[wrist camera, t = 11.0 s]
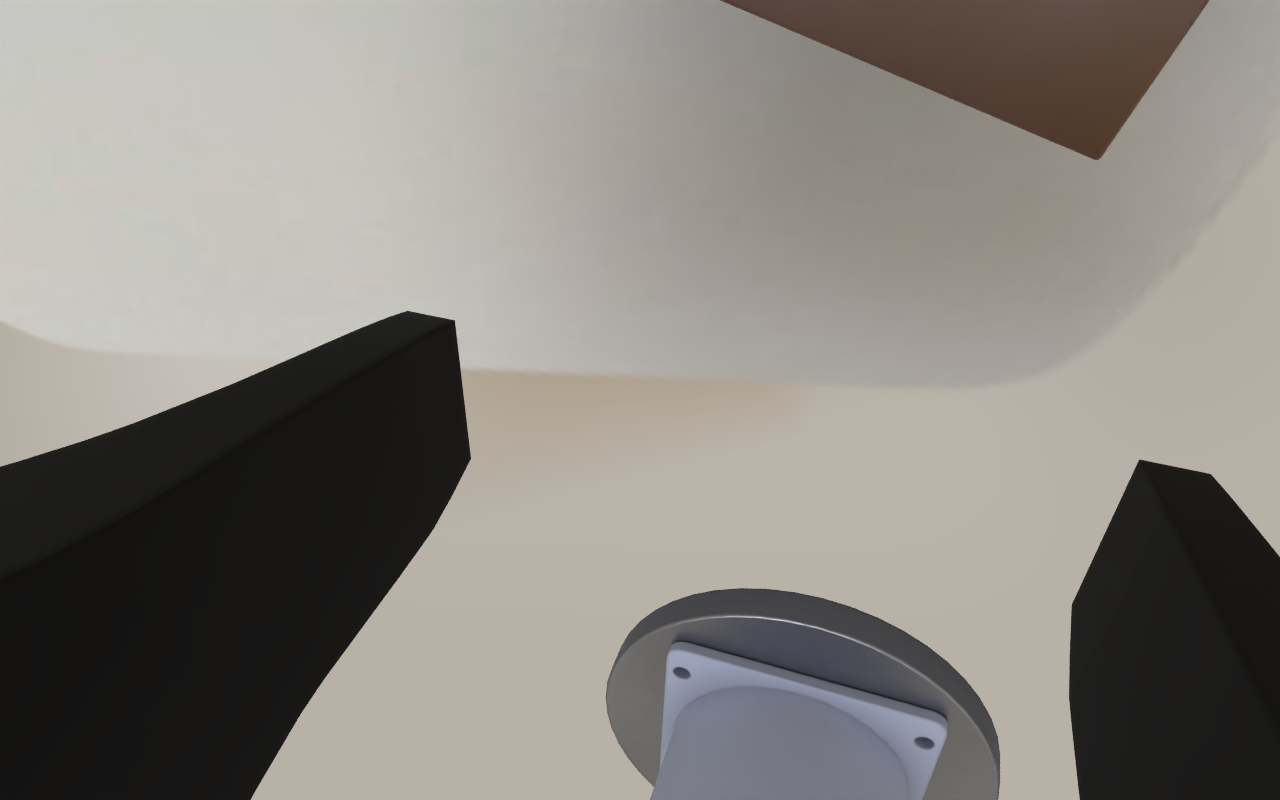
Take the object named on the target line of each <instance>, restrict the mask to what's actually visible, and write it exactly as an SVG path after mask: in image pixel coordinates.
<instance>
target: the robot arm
mask: <svg viewBox="0 0 1280 800" xmlns="http://www.w3.org/2000/svg"><path fill="white" fill-rule="evenodd" d="M470 459H471V456H470V447H469V438H468V431H467V421H466V413H465V405H464V396H463V388H462V379H461V370H460V361H459V353H458V344H457V336H456V327H455V320H450V319H445V318H440V317H435V316H430V315H425V314H420V313H415V312H410V311H406V312H403V313H400V314H397V315H394V316H391V317H388V318H385V319H383V320H380V321H378V322H375V323H373V324H370V325H368V326H365V327H363V328H360V329H358V330H356V331H353V332H351V333H349V334H346V335H344V336H342V337H339V338H337V339H335V340H332V341H330V342H328V343H325V344H323V345H321V346H319V347H316V348H314V349H312V350H310V351H307V352H305V353H303V354H300V355H298V356H296V357H294V358H291V359H289V360H287V361H284V362H282V363H280V364H277V365H275V366H273V367H271V368H268V369H266V370H264V371H262V372H259V373H257V374H255V375H252V376H250V377H248V378H245V379H243V380H241V381H238V382H236V383H234V384H231V385H229V386H226V387H224V388H221V389H219V390H217V391H214V392H211V393H209V394H206V395H204V396H201V397H199V398H196V399H194V400H191V401H189V402H186V403H184V404H181V405H179V406H176V407H174V408H171V409H169V410H166V411H164V412H161V413H159V414H156V415H153V416H151V417H148V418H146V419H143V420H141V421H138V422H136V423H133V424H130V425H127V426H125V427H122V428H119V429H116V430H114V431H111V432H108V433H105V434H102V435H99V436H96V437H93V438H91V439H88V440H85V441H82V442H79V443H76V444H73V445H69V446H66V447H63V448H60V449H57V450H54V451H50V452H47V453H44V454H41V455H38V456H34V457H32V458H28V459H25V460H22V461H19V462H15V463H12V464H8V465H5V466H1V467H0V800H251V798H252V796H253V794H254V792H255V791H256V789H257V787H258V785H259V784H260V782H261V780H262V778H263V777H264V775H265V773H266V772H267V770H268V768H269V767H270V765H271V763H272V762H273V760H274V758H275V757H276V755H277V753H278V751H279V750H280V748H281V746H282V745H283V743H284V741H285V739H286V738H287V736H288V734H289V732H290V731H291V729H292V728H293V726H294V724H295V723H296V721H297V719H298V717H299V716H300V714H301V713H302V711H303V709H304V708H305V707H306V705H307V704H308V702H309V701H310V699H311V698H312V696H313V695H314V693H315V692H316V690H317V689H318V687H319V686H320V684H321V683H322V681H323V680H324V679H325V677H326V676H327V674H328V673H329V671H330V670H331V669H332V668H333V666H334V665H335V664H336V662H337V661H338V660H339V658H340V657H341V655H342V654H343V653H344V651H345V650H346V649H347V647H348V646H349V645H350V643H351V642H352V640H353V639H354V638H355V636H356V635H357V634H358V632H359V631H360V629H361V628H362V627H363V625H364V624H365V623H366V621H367V620H368V619H369V617H370V616H371V615H372V613H373V612H374V610H375V609H376V608H377V606H378V605H379V604H380V602H381V601H382V600H383V598H384V597H385V596H386V594H387V593H388V592H389V590H390V589H391V587H392V586H393V585H394V583H395V582H396V581H397V579H398V578H399V577H400V575H401V574H402V572H403V571H404V570H405V568H406V567H407V565H408V564H409V563H410V561H411V560H412V558H413V557H414V556H415V554H416V553H417V552H418V550H419V549H420V547H421V546H422V545H423V543H424V542H425V540H426V539H427V537H428V536H429V535H430V533H431V532H432V530H433V529H434V527H435V525H436V523H437V522H438V520H439V518H440V516H441V514H442V513H443V511H444V509H445V507H446V505H447V504H448V502H449V500H450V498H451V496H452V495H453V493H454V491H455V489H456V487H457V485H458V483H459V481H460V479H461V477H462V475H463V473H464V471H465V469H466V467H467V465H468V463H469V461H470ZM1069 701H1070V711H1071V722H1072V731H1073V741H1074V750H1075V759H1076V768H1077V777H1078V787H1079V795H1080V800H1280V557H1279V556H1278V554H1277V553H1276V552H1275V551H1274V549H1273V548H1272V547H1271V546H1270V544H1269V543H1268V542H1267V541H1266V539H1265V538H1264V537H1263V536H1262V535H1261V533H1260V532H1259V531H1258V530H1257V529H1256V527H1255V526H1254V525H1253V524H1252V522H1251V521H1250V520H1249V519H1248V517H1247V516H1246V515H1245V514H1244V513H1243V511H1242V510H1241V509H1240V508H1239V506H1238V505H1237V504H1236V503H1235V502H1234V500H1233V499H1232V498H1231V497H1230V496H1229V495H1228V493H1227V492H1226V491H1225V490H1224V489H1223V488H1222V486H1221V485H1220V484H1219V483H1218V482H1217V481H1216V480H1215V478H1214V477H1213V476H1212V475H1211V474H1207V473H1203V472H1198V471H1193V470H1188V469H1183V468H1178V467H1173V466H1168V465H1163V464H1158V463H1153V462H1149V461H1144V460H1139V461H1138V464H1137V466H1136V468H1135V470H1134V473H1133V475H1132V477H1131V479H1130V481H1129V483H1128V485H1127V487H1126V490H1125V492H1124V494H1123V496H1122V498H1121V500H1120V503H1119V504H1118V507H1117V509H1116V511H1115V513H1114V515H1113V517H1112V520H1111V522H1110V524H1109V526H1108V528H1107V530H1106V532H1105V535H1104V537H1103V539H1102V541H1101V543H1100V545H1099V547H1098V550H1097V552H1096V554H1095V556H1094V558H1093V560H1092V563H1091V565H1090V567H1089V569H1088V571H1087V573H1086V576H1085V578H1084V580H1083V582H1082V584H1081V586H1080V589H1079V591H1078V593H1077V595H1076V597H1075V599H1074V601H1073V603H1072V616H1071V640H1070V679H1069ZM947 727H948V722H947V721H946V719H945V718H944V717H943V716H942V715H940V714H939V713H937V712H934V711H932V710H928V709H925V708H921V707H917V706H914V705H910V704H907V703H903V702H900V701H896V700H892V699H889V698H885V697H882V696H878V695H874V694H871V693H867V692H864V691H860V690H857V689H853V688H849V687H846V686H842V685H839V684H835V683H832V682H828V681H824V680H821V679H817V678H814V677H810V676H806V675H803V674H799V673H796V672H792V671H789V670H785V669H781V668H778V667H774V666H771V665H767V664H763V663H760V662H756V661H753V660H749V659H746V658H742V657H738V656H735V655H731V654H728V653H724V652H721V651H717V650H713V649H710V648H706V647H703V646H699V645H695V644H692V643H688V642H682V641H681V642H675V643H674V644H672V645H671V647H670V650H669V652H668V655H667V664H666V679H665V694H664V710H663V725H662V741H661V756H660V771H659V775H658V778H657V781H656V784H655V787H654V790H653V793H652V796H651V798H650V800H922V799H923V796H924V794H925V791H926V789H927V786H928V783H929V781H930V778H931V776H932V773H933V771H934V768H935V766H936V763H937V760H938V758H939V755H940V753H941V750H942V748H943V745H944V743H945V740H946V737H947Z"/></svg>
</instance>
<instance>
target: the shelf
mask: <svg viewBox="0 0 1280 800" xmlns="http://www.w3.org/2000/svg"><path fill="white" fill-rule="evenodd" d="M721 1H723V2H725V3H728V4H730V5H732V6H735V7H737V8H739V9H742V10H744V11H746V12H749V13H751V14H753V15H756V16H758V17H760V18H763V19H765V20H767V21H770V22H772V23H775V24H777V25H779V26H782V27H784V28H786V29H789V30H791V31H793V32H796V33H798V34H800V35H803V36H805V37H807V38H810V39H812V40H814V41H817V42H819V43H822V44H824V45H826V46H829V47H831V48H833V49H836V50H838V51H840V52H843V53H845V54H847V55H850V56H852V57H854V58H857V59H859V60H861V61H864V62H866V63H868V64H871V65H873V66H876V67H878V68H880V69H883V70H885V71H887V72H890V73H892V74H894V75H897V76H899V77H901V78H904V79H906V80H908V81H911V82H913V83H915V84H918V85H920V86H923V87H925V88H927V89H930V90H932V91H934V92H937V93H939V94H941V95H944V96H946V97H948V98H951V99H953V100H955V101H958V102H960V103H962V104H965V105H967V106H969V107H972V108H974V109H977V110H979V111H981V112H984V113H986V114H988V115H991V116H993V117H995V118H998V119H1000V120H1002V121H1005V122H1007V123H1009V124H1012V125H1014V126H1016V127H1019V128H1021V129H1024V130H1026V131H1028V132H1031V133H1033V134H1035V135H1038V136H1040V137H1042V138H1045V139H1047V140H1049V141H1052V142H1054V143H1056V144H1059V145H1061V146H1063V147H1066V148H1068V149H1070V150H1073V151H1075V152H1078V153H1080V154H1082V155H1085V156H1087V157H1089V158H1092V159H1094V160H1098V159H1100V158H1101V157H1102V155H1103V154H1104V153H1105V151H1106V150H1107V148H1108V147H1109V145H1110V144H1111V142H1112V141H1113V139H1114V138H1115V137H1116V135H1117V134H1118V132H1119V131H1120V129H1121V128H1122V126H1123V125H1124V123H1125V122H1126V121H1127V119H1128V118H1129V116H1130V115H1131V113H1132V112H1133V110H1134V109H1135V108H1136V106H1137V105H1138V103H1139V102H1140V100H1141V99H1142V97H1143V96H1144V94H1145V93H1146V92H1147V90H1148V89H1149V87H1150V86H1151V84H1152V83H1153V81H1154V80H1155V78H1156V77H1157V76H1158V74H1159V73H1160V71H1161V70H1162V68H1163V67H1164V65H1165V64H1166V63H1167V61H1168V60H1169V58H1170V57H1171V55H1172V54H1173V52H1174V51H1175V49H1176V48H1177V47H1178V45H1179V44H1180V42H1181V41H1182V39H1183V38H1184V36H1185V35H1186V34H1187V32H1188V31H1189V29H1190V28H1191V26H1192V25H1193V23H1194V22H1195V20H1196V19H1197V18H1198V16H1199V15H1200V13H1201V12H1202V10H1203V9H1204V7H1205V6H1206V4H1207V3H1208V2H1209V0H721Z"/></svg>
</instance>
